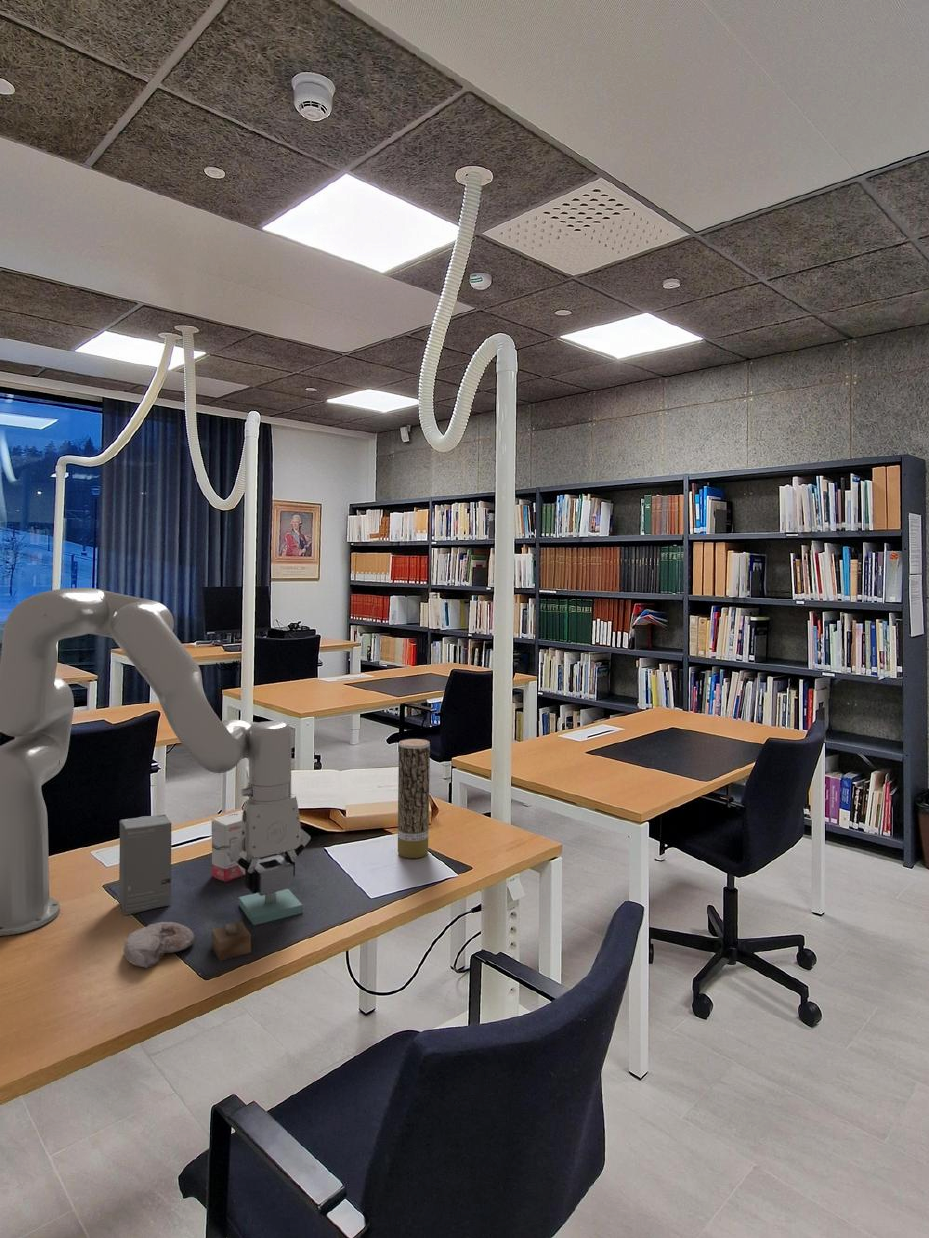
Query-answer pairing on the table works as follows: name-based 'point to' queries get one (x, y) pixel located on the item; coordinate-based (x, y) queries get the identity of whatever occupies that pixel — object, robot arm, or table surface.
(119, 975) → the table surface
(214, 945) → the stand
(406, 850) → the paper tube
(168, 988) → the table surface
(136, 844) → the skincare box
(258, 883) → the collar
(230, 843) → the ink box
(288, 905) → the green peg base
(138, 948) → the fossil
